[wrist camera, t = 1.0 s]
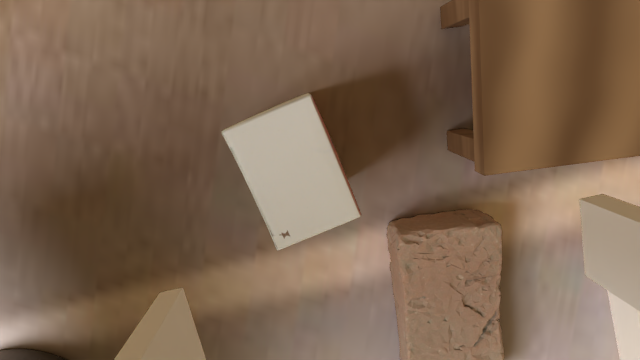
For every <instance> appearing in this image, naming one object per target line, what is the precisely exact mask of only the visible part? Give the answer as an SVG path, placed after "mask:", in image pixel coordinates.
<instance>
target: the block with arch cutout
mask: <svg viewBox="0 0 640 360" xmlns="http://www.w3.org/2000/svg"><path fill="white" fill-rule="evenodd" d="M607 291H608V290H607ZM608 297H609V302H610V308H611V313H612V319H613V324H614V330H615V335H616V340H617V346H618V351H619V357H620V360H640V311H638V310H637V309H635V308H634V307H632V306H631V305H629V304H628V303H626V302H624V301H623V300H621V299H620V298H618V297H617V296H615V295H614V294H612V293H611V292H609V291H608Z"/></svg>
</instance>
